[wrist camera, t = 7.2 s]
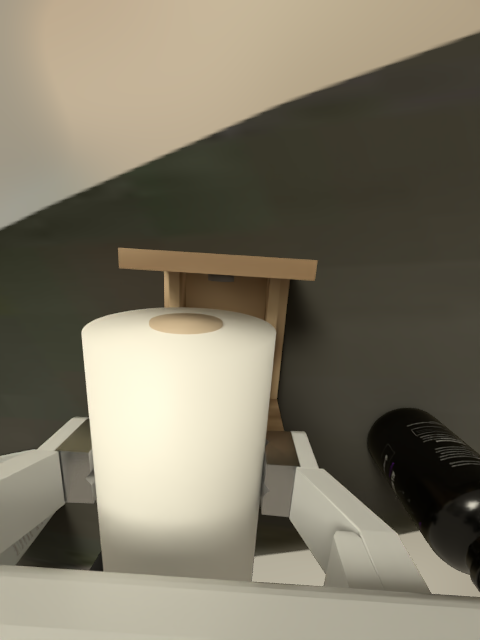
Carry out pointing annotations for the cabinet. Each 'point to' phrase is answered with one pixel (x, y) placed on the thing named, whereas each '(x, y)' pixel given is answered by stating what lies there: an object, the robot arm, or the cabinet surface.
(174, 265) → the holder
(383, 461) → the supplement bottle
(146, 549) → the paper roll
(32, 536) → the supplement box
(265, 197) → the cabinet surface
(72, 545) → the cabinet surface
